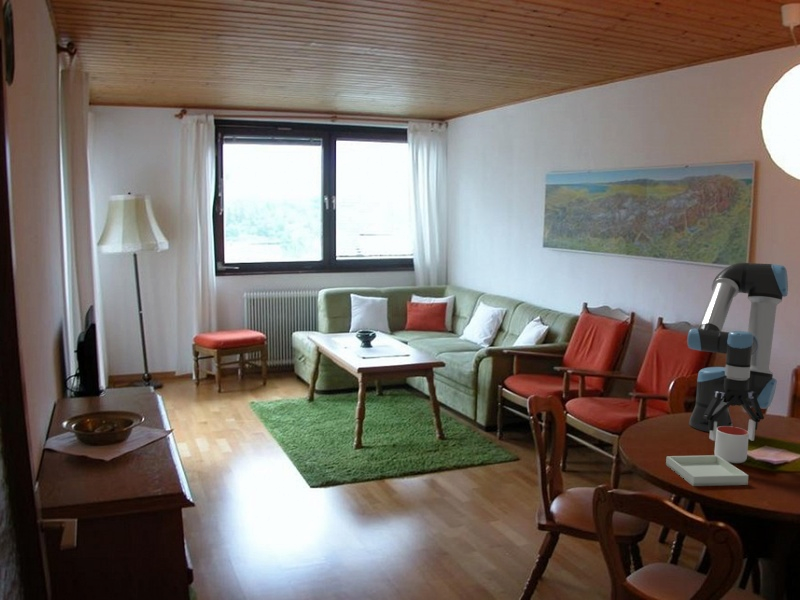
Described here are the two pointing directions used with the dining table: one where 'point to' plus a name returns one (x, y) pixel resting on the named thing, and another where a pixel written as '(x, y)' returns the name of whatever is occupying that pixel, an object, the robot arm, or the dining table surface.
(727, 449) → the cup
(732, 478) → the tray
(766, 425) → the dining table surface
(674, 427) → the dining table surface
